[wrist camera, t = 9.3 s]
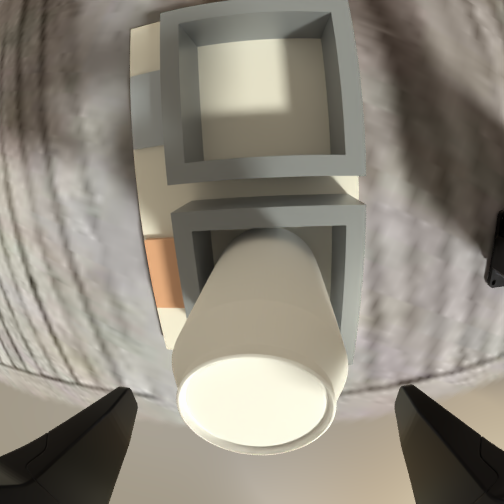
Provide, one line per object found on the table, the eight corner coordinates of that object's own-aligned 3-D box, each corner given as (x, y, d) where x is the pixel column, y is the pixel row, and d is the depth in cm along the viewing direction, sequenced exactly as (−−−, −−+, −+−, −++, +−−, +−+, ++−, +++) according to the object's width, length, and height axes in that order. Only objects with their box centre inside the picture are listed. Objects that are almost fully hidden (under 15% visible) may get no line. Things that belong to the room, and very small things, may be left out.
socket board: (339, 12, 14) (355, -23, 10) (346, 340, 22) (359, 382, 17) (136, 33, 16) (102, 9, 11) (170, 342, 23) (149, 381, 18)
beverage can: (214, 302, 20) (159, 444, 9) (227, 213, 18) (154, 310, 7) (303, 318, 20) (320, 470, 9) (326, 232, 18) (391, 350, 7)
